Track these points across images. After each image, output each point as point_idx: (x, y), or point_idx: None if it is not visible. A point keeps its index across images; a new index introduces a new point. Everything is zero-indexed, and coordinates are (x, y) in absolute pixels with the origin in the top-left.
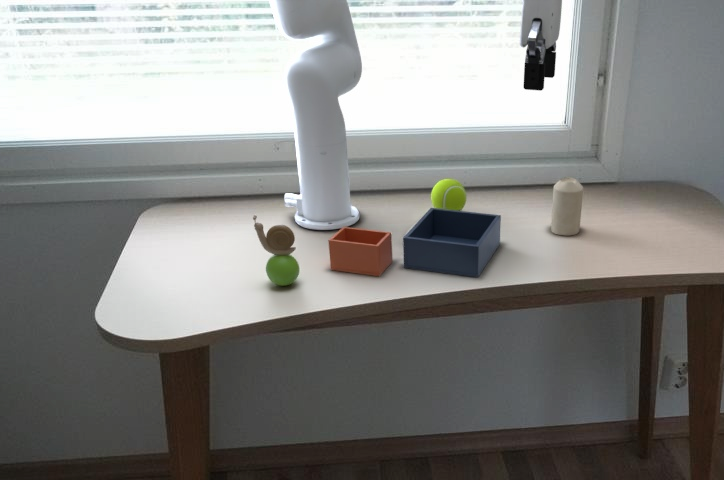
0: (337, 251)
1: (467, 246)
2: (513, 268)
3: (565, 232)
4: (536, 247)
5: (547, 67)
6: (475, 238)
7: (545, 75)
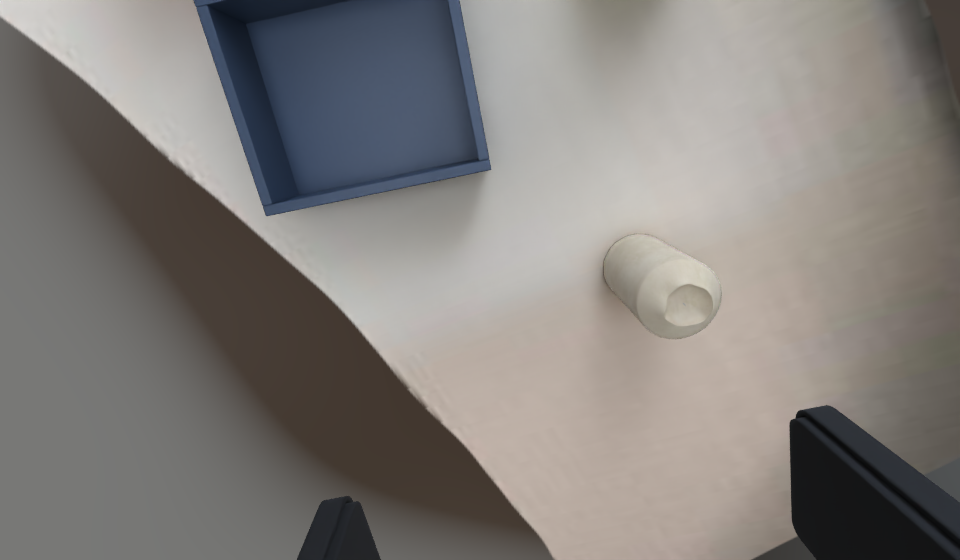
0: None
1: (257, 187)
2: (381, 250)
3: (606, 280)
4: (511, 247)
5: (846, 549)
6: (467, 104)
7: (795, 488)
